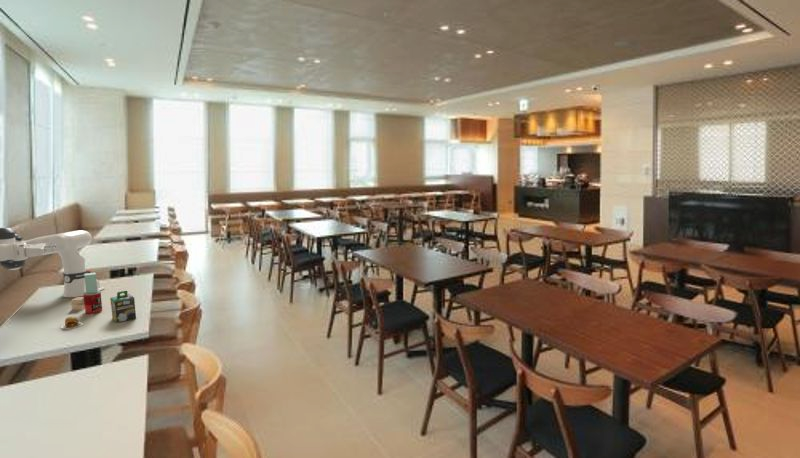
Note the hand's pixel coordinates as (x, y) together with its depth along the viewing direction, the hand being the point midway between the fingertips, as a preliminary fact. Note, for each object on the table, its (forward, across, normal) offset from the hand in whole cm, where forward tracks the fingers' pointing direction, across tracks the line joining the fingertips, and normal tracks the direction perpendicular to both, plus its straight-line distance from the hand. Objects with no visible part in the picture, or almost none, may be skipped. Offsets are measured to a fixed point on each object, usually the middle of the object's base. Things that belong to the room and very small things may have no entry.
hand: (55, 247), depth 242 cm
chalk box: (+27, +33, -35) cm, 55 cm away
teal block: (+14, +11, -24) cm, 30 cm away
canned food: (+14, +10, -35) cm, 39 cm away
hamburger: (+5, +31, -36) cm, 48 cm away
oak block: (+8, 0, -35) cm, 36 cm away
